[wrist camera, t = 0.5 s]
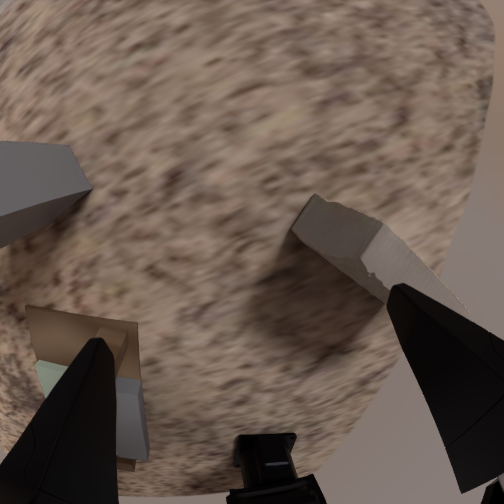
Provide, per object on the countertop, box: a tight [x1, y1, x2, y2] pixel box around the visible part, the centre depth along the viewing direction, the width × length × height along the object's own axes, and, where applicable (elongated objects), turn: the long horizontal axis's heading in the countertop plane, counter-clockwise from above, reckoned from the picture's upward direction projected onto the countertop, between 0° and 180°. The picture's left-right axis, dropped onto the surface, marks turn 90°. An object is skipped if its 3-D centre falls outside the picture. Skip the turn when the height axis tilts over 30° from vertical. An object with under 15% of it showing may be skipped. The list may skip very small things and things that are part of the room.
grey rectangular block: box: [0, 141, 93, 249], centre depth 13 cm, size 4×5×12 cm
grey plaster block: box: [291, 194, 472, 321], centre depth 19 cm, size 12×4×10 cm, turn 56°
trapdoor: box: [35, 360, 150, 461], centre depth 20 cm, size 10×9×2 cm
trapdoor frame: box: [25, 305, 141, 472], centre depth 21 cm, size 15×11×6 cm
